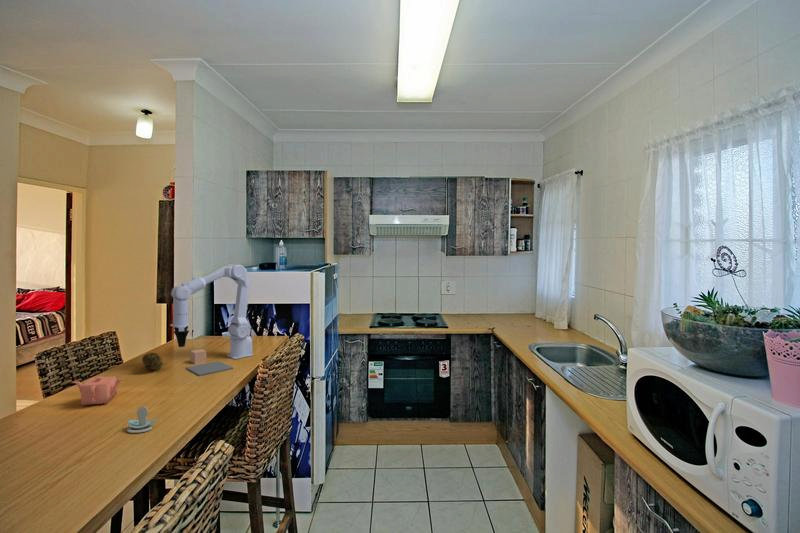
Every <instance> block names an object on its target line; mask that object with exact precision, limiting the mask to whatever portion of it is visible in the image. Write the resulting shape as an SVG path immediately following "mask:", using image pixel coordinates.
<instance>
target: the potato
mask: <svg viewBox="0 0 800 533" xmlns="http://www.w3.org/2000/svg"><path fill="white" fill-rule="evenodd" d="M141 361H142V364H143V367H145V369H150V370H155V371H157V370H159V369H161V368H162V366H163V365H164V364H163V363H164V362H163V359H162V357H161V356H160V354H158V353H157V352H149V353H146V354H144V355H143V356H142V360H141Z"/></svg>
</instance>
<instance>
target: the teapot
mask: <svg viewBox="0 0 800 533" xmlns="http://www.w3.org/2000/svg"><path fill="white" fill-rule="evenodd" d="M123 380H126V379H125V378H118V379H117V376H114V375H113V376H101V375H100V376H96V377H91V378H90V379H88V380H87V381H86V382H84V383H82V382H80V381H72V383H74V384H76V385H77V387H78V389H79V393H80V402H81V404H80V405H81V406H91V405H101V404H102V405H103V403H104V404H108V403H109V402H110V401H111V400H112V399H113V398H114V397H115V396H116V395H117V390H118V389H119V386H120V383H121V382H122V381H123Z"/></svg>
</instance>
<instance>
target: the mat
mask: <svg viewBox="0 0 800 533" xmlns="http://www.w3.org/2000/svg"><path fill="white" fill-rule="evenodd" d="M233 369H234V366H231V365H228V364H226V363H224V362H222V361H220V360H217V361H211V362H204V363H199V364H194V365H191V366H186V367H185V370H187V371H190V372H191V373H192V374H195V375H197V376H198V377H203V376H206V375H211V374H216V373H220V372H225V371H230V370H233Z"/></svg>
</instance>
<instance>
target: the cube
mask: <svg viewBox="0 0 800 533" xmlns="http://www.w3.org/2000/svg"><path fill="white" fill-rule="evenodd" d="M189 356H190V357H189V358H190V359H189V360H190V363H192V364H194V365H198V364H203V363H207V350H204V349H202V348H200V349H194V350H190V355H189ZM202 362H203V363H202ZM197 363H198V364H197Z"/></svg>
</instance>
